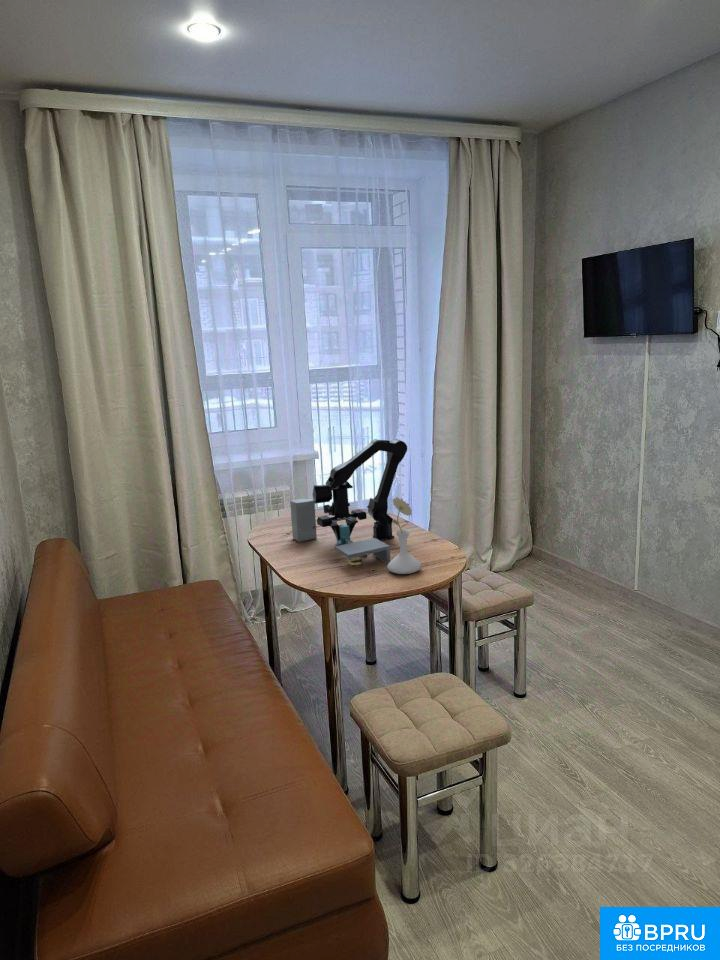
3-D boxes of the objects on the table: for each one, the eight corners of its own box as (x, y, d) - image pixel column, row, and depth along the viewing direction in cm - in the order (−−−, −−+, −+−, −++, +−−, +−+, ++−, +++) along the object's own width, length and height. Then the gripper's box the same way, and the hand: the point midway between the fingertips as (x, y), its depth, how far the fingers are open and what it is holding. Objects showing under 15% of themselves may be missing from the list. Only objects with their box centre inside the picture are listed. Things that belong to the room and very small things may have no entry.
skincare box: (298, 542, 259) (295, 503, 255) (291, 538, 265) (288, 500, 261) (318, 538, 262) (315, 500, 259) (311, 534, 269) (308, 496, 265)
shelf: (375, 554, 240) (374, 538, 238) (390, 562, 230) (389, 545, 229) (335, 563, 233) (334, 546, 232) (349, 572, 223) (348, 554, 222)
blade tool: (345, 540, 257) (344, 523, 256) (370, 555, 239) (369, 536, 238) (336, 542, 256) (335, 525, 254) (360, 557, 238) (359, 538, 236)
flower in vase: (426, 574, 218) (423, 500, 212) (394, 579, 215) (390, 505, 209) (412, 561, 230) (409, 492, 224) (381, 566, 227) (377, 496, 221)
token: (358, 561, 234) (358, 556, 233) (365, 565, 229) (364, 560, 229) (345, 564, 231) (345, 559, 231) (352, 568, 227) (351, 563, 227)
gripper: (353, 492, 262) (355, 530, 265) (309, 500, 254) (312, 538, 257) (366, 497, 252) (368, 536, 256) (321, 505, 244) (324, 546, 248)
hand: (343, 539), depth 254 cm, fingers closed on blade tool, 4 cm apart
